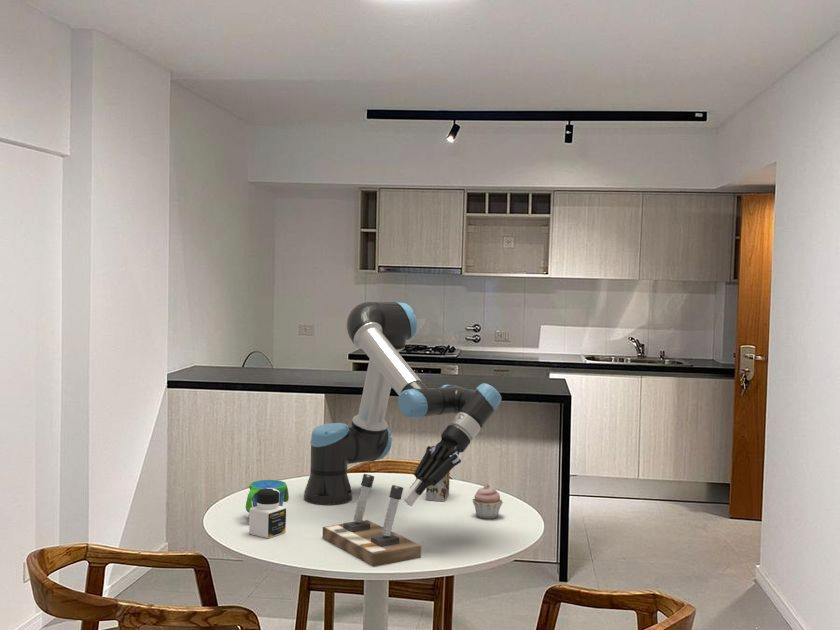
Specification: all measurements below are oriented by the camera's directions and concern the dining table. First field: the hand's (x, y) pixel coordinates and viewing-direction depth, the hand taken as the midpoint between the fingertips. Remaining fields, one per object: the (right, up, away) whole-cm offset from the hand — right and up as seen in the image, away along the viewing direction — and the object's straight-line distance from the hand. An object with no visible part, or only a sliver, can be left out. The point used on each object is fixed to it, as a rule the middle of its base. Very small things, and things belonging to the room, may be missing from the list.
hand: (406, 502), depth 219 cm
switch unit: (-10, -12, +3) cm, 16 cm away
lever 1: (-14, -7, +8) cm, 17 cm away
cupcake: (+23, -12, +36) cm, 44 cm away
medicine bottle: (-38, -11, +12) cm, 42 cm away
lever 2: (-5, -8, -3) cm, 10 cm away
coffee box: (+9, -11, +56) cm, 58 cm away
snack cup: (-41, -11, +26) cm, 50 cm away
